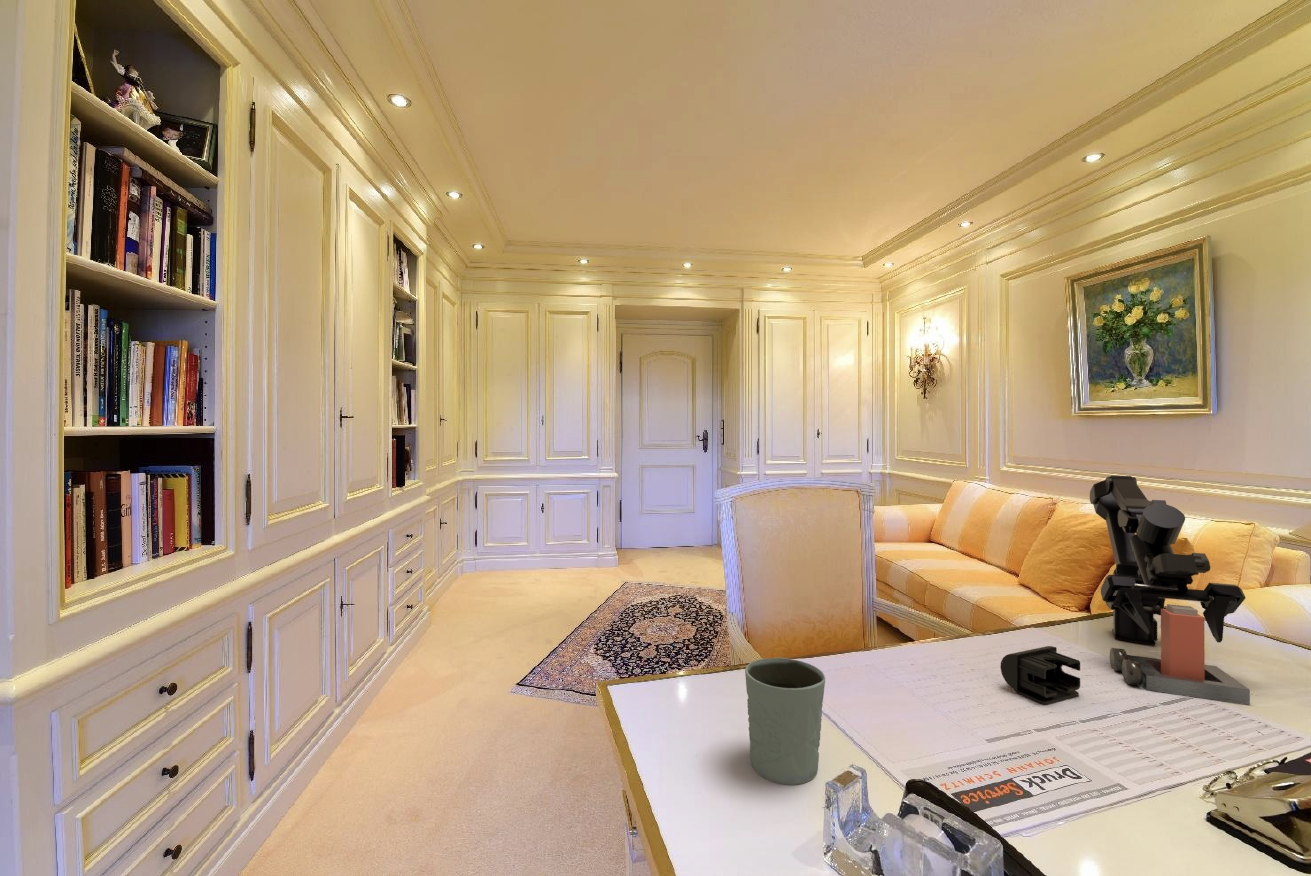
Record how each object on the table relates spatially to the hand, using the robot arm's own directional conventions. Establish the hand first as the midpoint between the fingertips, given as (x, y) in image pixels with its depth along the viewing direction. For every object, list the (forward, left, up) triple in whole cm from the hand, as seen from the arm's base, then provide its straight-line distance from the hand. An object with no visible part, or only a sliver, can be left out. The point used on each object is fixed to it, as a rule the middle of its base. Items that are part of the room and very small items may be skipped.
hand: (1184, 637), depth 94 cm
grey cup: (-47, -62, -9) cm, 78 cm away
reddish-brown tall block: (0, +1, -9) cm, 9 cm away
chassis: (-1, +1, -9) cm, 9 cm away
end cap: (-20, -17, -9) cm, 28 cm away
